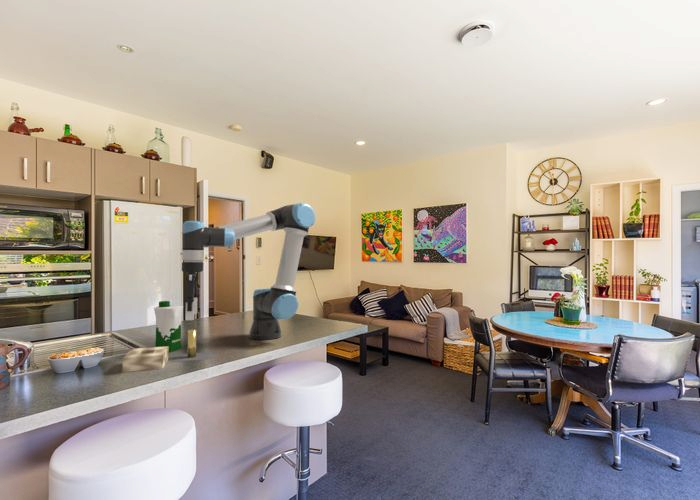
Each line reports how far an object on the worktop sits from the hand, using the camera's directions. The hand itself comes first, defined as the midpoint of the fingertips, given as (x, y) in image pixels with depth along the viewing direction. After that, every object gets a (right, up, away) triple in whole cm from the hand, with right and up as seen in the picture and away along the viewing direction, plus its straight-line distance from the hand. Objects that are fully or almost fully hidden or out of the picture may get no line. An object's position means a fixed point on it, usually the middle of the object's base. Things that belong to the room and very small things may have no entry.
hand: (191, 317), depth 135 cm
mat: (0, -16, 0) cm, 16 cm away
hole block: (-11, -15, -10) cm, 22 cm away
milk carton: (-14, -16, +10) cm, 23 cm away
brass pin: (0, -15, 0) cm, 15 cm away
